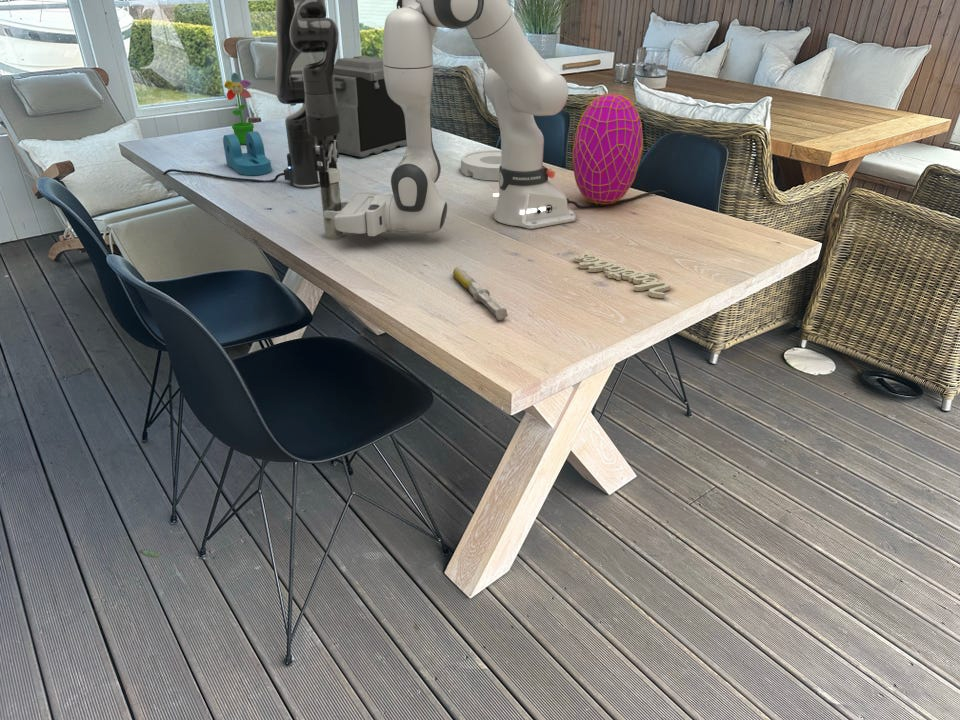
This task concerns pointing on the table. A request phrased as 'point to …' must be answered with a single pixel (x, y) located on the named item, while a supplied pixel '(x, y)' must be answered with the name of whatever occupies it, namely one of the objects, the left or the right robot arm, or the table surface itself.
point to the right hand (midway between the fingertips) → (328, 209)
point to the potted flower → (237, 88)
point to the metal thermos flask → (331, 208)
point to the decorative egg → (607, 148)
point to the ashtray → (482, 164)
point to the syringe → (479, 293)
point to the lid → (332, 175)
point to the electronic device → (366, 108)
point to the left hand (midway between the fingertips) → (329, 182)
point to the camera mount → (246, 154)
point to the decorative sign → (625, 274)
